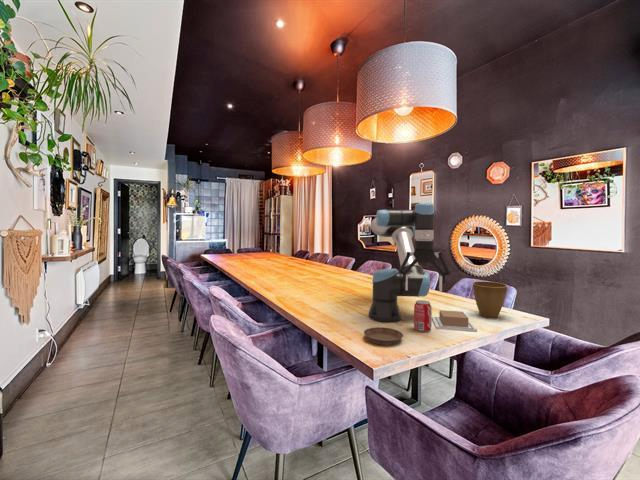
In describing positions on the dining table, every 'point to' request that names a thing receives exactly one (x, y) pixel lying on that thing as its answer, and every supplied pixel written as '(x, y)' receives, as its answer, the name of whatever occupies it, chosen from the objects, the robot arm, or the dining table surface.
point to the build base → (453, 321)
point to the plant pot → (489, 297)
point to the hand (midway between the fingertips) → (423, 290)
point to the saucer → (383, 335)
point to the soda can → (422, 316)
